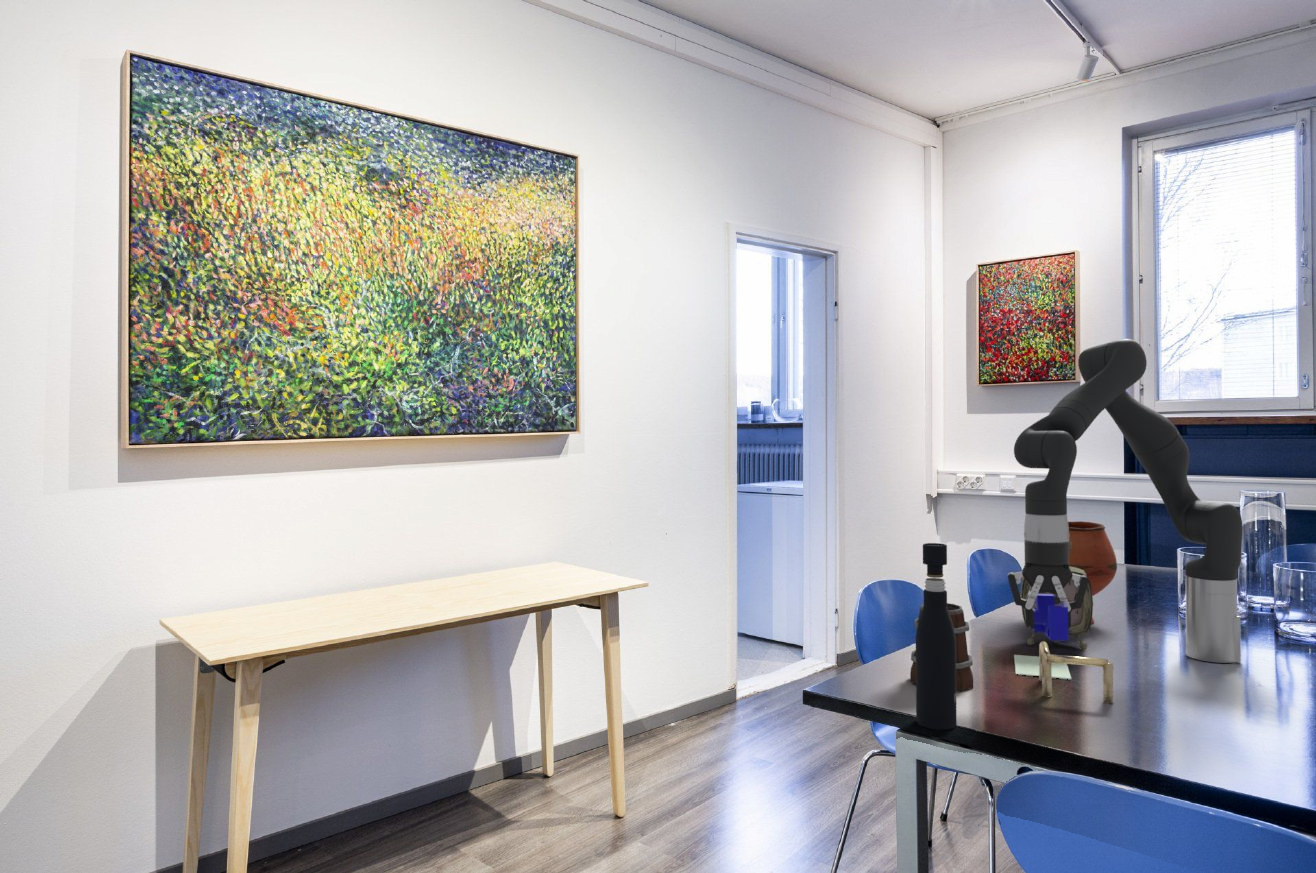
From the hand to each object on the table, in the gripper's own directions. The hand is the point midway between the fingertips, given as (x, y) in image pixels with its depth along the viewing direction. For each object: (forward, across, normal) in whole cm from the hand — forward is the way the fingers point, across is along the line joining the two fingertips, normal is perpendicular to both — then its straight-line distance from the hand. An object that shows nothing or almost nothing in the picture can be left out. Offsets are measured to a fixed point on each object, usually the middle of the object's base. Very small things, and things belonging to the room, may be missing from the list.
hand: (1047, 629), depth 155 cm
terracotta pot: (+13, -10, -66) cm, 68 cm away
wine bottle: (+12, +18, +24) cm, 32 cm away
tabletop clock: (+12, -4, -39) cm, 41 cm away
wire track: (+12, -5, -3) cm, 13 cm away
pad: (+12, 0, -18) cm, 22 cm away
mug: (+12, +18, -2) cm, 22 cm away
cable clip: (+1, 0, 0) cm, 1 cm away
